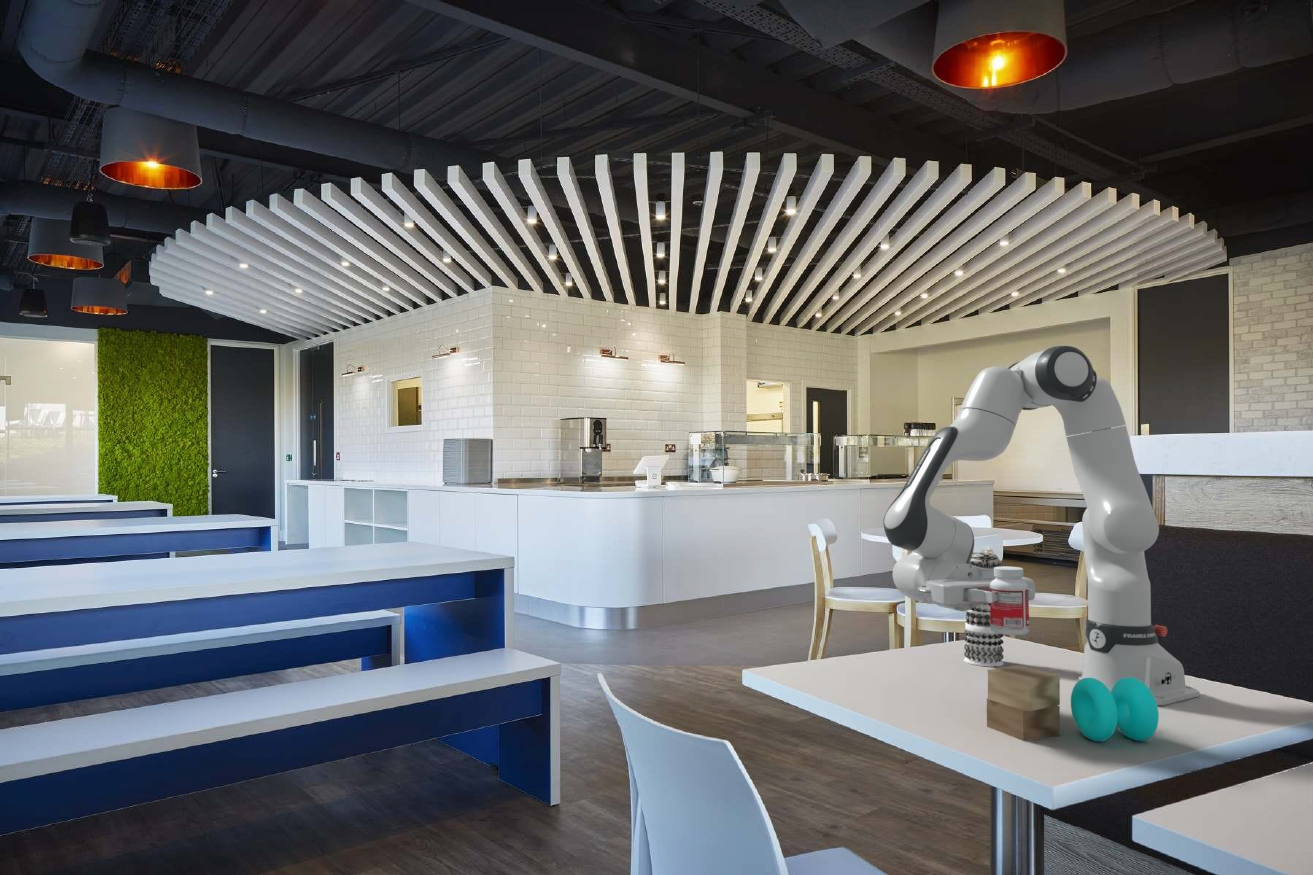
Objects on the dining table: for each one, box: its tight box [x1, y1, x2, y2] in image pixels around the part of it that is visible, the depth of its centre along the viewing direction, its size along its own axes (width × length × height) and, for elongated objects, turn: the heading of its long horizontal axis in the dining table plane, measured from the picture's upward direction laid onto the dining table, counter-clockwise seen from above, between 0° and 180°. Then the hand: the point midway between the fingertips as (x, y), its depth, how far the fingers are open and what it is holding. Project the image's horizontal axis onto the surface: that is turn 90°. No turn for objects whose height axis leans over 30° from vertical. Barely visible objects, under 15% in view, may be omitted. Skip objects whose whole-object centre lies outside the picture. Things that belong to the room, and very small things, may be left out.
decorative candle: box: [963, 552, 1005, 668], centre depth 192 cm, size 9×9×25 cm
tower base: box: [986, 697, 1061, 742], centre depth 141 cm, size 8×8×5 cm
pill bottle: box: [990, 565, 1030, 636], centre depth 143 cm, size 6×6×11 cm
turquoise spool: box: [1070, 677, 1160, 742], centre depth 137 cm, size 10×10×10 cm
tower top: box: [987, 664, 1061, 711], centre depth 141 cm, size 8×8×5 cm
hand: (1013, 596), depth 142 cm, fingers closed on pill bottle, 6 cm apart
